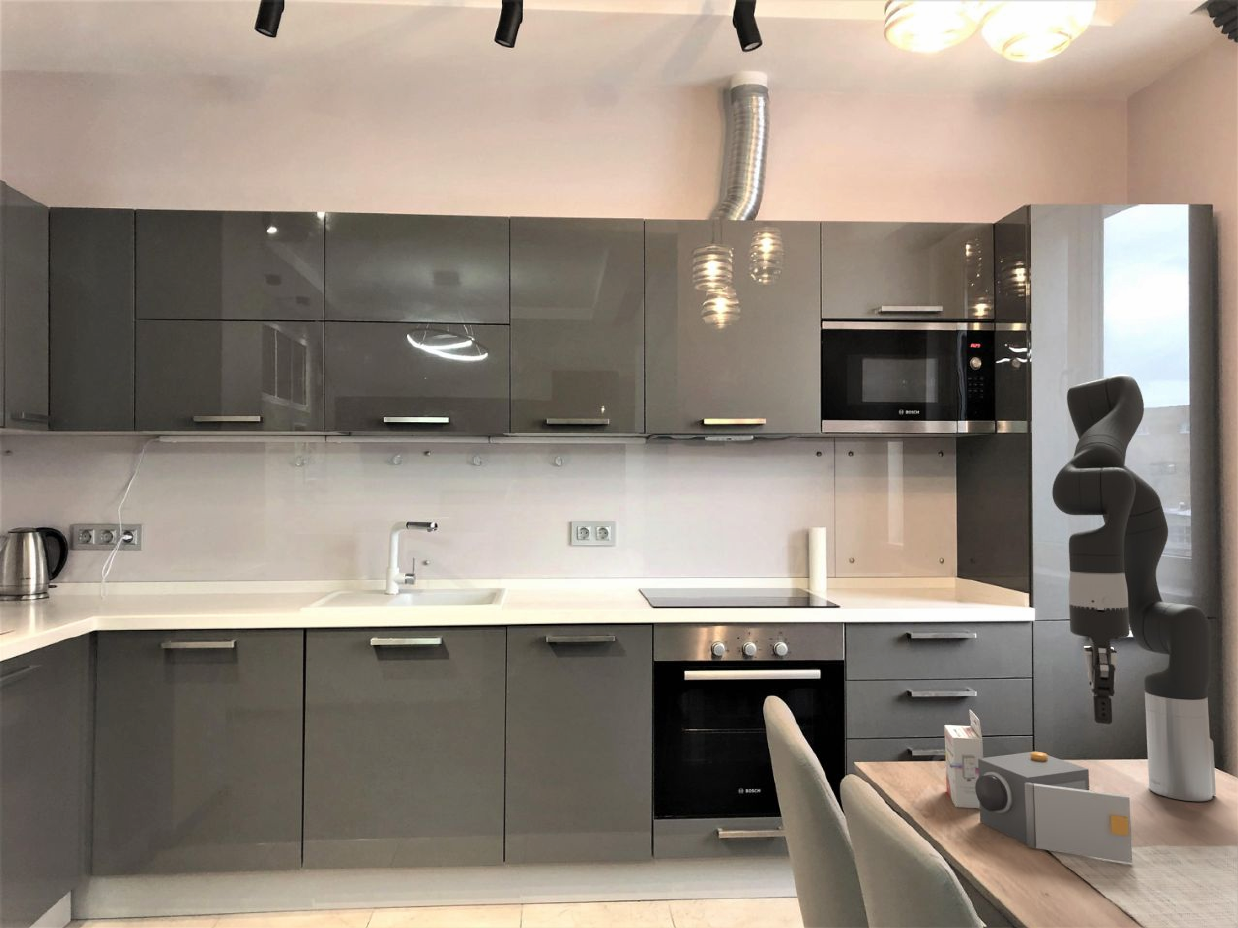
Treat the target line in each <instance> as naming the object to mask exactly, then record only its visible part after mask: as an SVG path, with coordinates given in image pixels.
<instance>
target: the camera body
mask: <svg viewBox="0 0 1238 928" xmlns="http://www.w3.org/2000/svg"><path fill="white" fill-rule="evenodd" d="M978 772H979V778H978V779H977V781H976V784H975V791H976V795H977V798H978V800H979V802H980V808H979V822H980V823H981V824H984V825H985V826H986V827H987V826H988V827H989V828H991V829H994V830H996V831H998V832H1000V833H1002V834H1004V835H1006V836H1008V837H1010V838H1012V839H1014V840H1016V841H1019V842H1021V843H1022V844H1025V845H1026V846H1027V831H1026V803H1025V783H1027V782H1028V783H1033V784H1034V783H1035V784H1042V785H1050V786H1058V787H1066V788H1074V789H1082V790H1089V791H1090V773H1089V772H1090V771H1089V768H1086V767H1083V766H1080V765H1078V764H1074V763H1072V762H1069V761H1065V760H1062V759H1060V758H1056V757H1054V756H1051V755H1049V754H1047V753H1045V752H1041V751H1040V752H1039V751H1036V750H1035V751H1028V752H1020V753H1013V754H1005V755H1004V754H1003V755H997V756H989V757H983V758H979V759H978Z"/></svg>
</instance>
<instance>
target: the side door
mask: <svg viewBox="0 0 1238 928" xmlns="http://www.w3.org/2000/svg"><path fill="white" fill-rule="evenodd" d="M1025 803H1026V831H1027V845H1026V846H1027V847H1029V848H1036V849H1039V850H1046V851H1053V852H1059V853H1065V854H1071V855H1072V854H1073V855H1078V856H1084V857H1091V858H1097V859H1103V860H1109V861H1115V862H1122V863H1127V864H1133V848H1132V828H1131V827H1132V826H1131V823H1132V822H1131V821H1132V820H1131V802H1130V796H1129V795H1127V794H1120V793H1119V794H1118V793H1111V792H1103V791H1095V790H1090V789H1089V790H1082V789H1074V788H1066V787H1058V786H1050V785H1042V784H1035V783H1034V784H1033V783H1028V782H1027V783H1025Z"/></svg>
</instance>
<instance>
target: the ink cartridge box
mask: <svg viewBox="0 0 1238 928" xmlns="http://www.w3.org/2000/svg"><path fill="white" fill-rule="evenodd" d="M968 712H969V713H968V714H969V719H970V725H956V724H955V725H951V724H944V725H943V729H944V732H943V733H944V751H945V752H944V753H945V780H946V781H945V782H946V783H945V784H946V791H947V793H948V796H949V798H950V799H951V801H952V803H953V804H954V806H955V808H962V809H964V808H965V809H966V808H967V809H980V802H979V800H978V798H977V795H976V791H975V784H976V781H977V779H978V778H979V772H978V759H979V758H984V748H983V747H984V746H983V736H982V729H981V722H980V719H979V718H978V716H977V715H975V713H974V712H973V711H972V710H971V709H969V710H968Z"/></svg>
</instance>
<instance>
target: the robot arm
mask: <svg viewBox="0 0 1238 928" xmlns="http://www.w3.org/2000/svg"><path fill="white" fill-rule="evenodd" d="M1066 403H1067V407H1068V412H1069V415H1070V418H1071V422H1072V424H1073V427H1074V430H1075V433H1076V435H1077V437H1078V442H1077V443H1076V445H1075V449H1074V454H1073V457H1072V458H1071V459H1070V460H1068V462H1067V463H1065V465H1063V467H1062V468H1061V469H1060V470H1059V472H1058V473H1057V475H1055V478H1054V481H1053V484H1052V490H1051V492H1052V493H1051V494H1052V500H1053V503H1054V504H1055V506H1056V507H1057V509H1058V510H1060V511H1061V513H1064V514H1066V515H1069V516H1102V519H1103V522H1104V524H1103V525H1102V526H1100V527H1099V528H1094V529H1090V530H1084V531H1080V532H1078V531H1077V532H1075V533H1073V534H1071V535H1070V536H1069V539H1068V559H1069V579H1068V608H1069V609H1068V610H1069V611H1068V612H1069V629H1070V633H1072V634H1073V635H1075V636H1079V637H1083V638H1085V637H1087V638H1089V639H1088V640H1089V646H1087V645H1086V646H1083V656H1084V658H1085V661H1086V675H1087V677H1088V681H1089V686H1090V692H1091V694H1092V704H1093V705H1092V706H1093V707H1092V709H1093V719H1094V722H1096V723H1097V724H1101V725H1104V724H1105V725H1111V724H1112V723H1113V709H1112V707H1113V705H1112V699H1113V697H1114V696H1115V683H1116V681H1117V677H1116V676H1117V675H1116V674H1117V673H1116V672H1117V671H1116V665H1117V663H1118V653H1117V652H1118V651H1117V650H1116V649H1115V647H1112V646H1111V640H1112V639H1125V638H1128V636H1130V631H1131V635H1132V637H1133V638H1134V641H1135V643H1136V644H1137V645H1138V646H1139V647H1140V648H1141V649H1143V650H1145V651H1148V652H1151V653H1156V654H1163V655H1168V656H1169V657H1168V665H1167V668H1166V669H1164V670H1162V671H1159V672H1158V671H1157V672H1151V673H1149V674H1147V675H1145V677H1144V680H1143V681H1144V682H1143V683H1144V702H1145V703H1144V705H1145V724H1146V745H1147V768H1148V771H1147V772H1148V788H1149V790H1150V791H1152V792H1153V793H1155V794H1157V795H1159V796H1162V797H1165V798H1170V799H1174V800H1181V801H1186V802H1187V801H1188V802H1208V801H1210V800H1212V799H1213V796H1216V793H1217V790H1216V772H1215V770H1216V769H1215V751H1214V750H1215V749H1214V741H1213V740H1212V739H1211V737H1210V720H1209V719H1210V718H1209V717H1210V716H1209V703H1208V701H1209V698H1208V697H1209V696H1208V688H1209V685H1210V682H1211V674H1212V667H1211V666H1212V631H1211V624H1210V621H1209V619H1208V617H1207V615H1206V613H1205V612H1204V611H1203V610H1202V609H1201V608H1199V607H1198V606H1196V605H1191V604H1183V603H1173V602H1165V601H1163V599H1162V597H1161V594H1160V591H1159V586H1158V580H1157V568H1158V565H1159V562H1160V559H1161V557H1162V555H1163V553H1164V550H1165V548H1166V544H1167V541H1168V537H1169V528H1168V522H1167V519H1166V515H1165V512H1164V509H1163V506H1162V502H1161V499H1160V496H1159V494H1158V493H1157V491H1156V490H1155V489H1154V487H1152V486H1151V485H1150V484H1149V483H1147V482H1146V481H1145V480H1144V479H1143V478H1141V477H1140V476H1139V475H1138V474H1136V473H1135V472H1134V471H1132V470H1131V469H1130V468H1129V467H1127V466H1126V465H1125V463H1126V462H1125V461H1126V456H1127V450H1128V448H1129V447H1128V446H1129V444H1130V442H1131V440H1132V439H1133V438H1134V435H1135V434H1136V432H1137V430H1138V428H1139V426H1140V424H1141V423H1142V421H1143V418H1144V412H1145V407H1144V406H1145V403H1144V397H1143V394H1142V391H1141V388H1140V386H1139V385H1138V382H1137V381H1136V380H1135V378H1134V377H1132V376H1131V375H1128V374H1117V375H1112V376H1111V375H1110V376H1108V377H1103V378H1100V379H1096V380H1095V379H1094V380H1092V381H1086V382H1083V383H1080V384H1079V383H1078V384H1077V385H1076V384H1075V385H1073V386H1072V385H1071V387H1069V389H1068V390H1067V393H1066Z"/></svg>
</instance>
